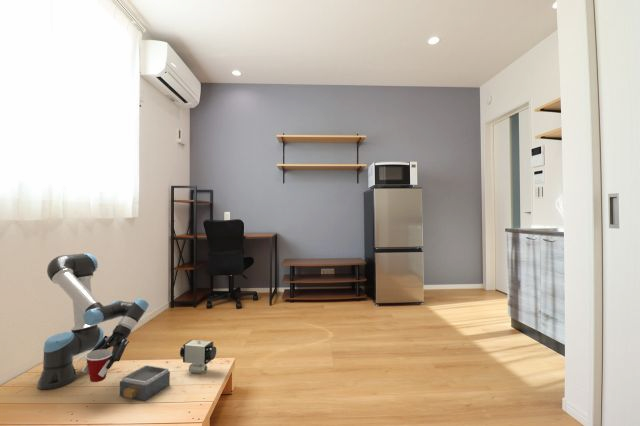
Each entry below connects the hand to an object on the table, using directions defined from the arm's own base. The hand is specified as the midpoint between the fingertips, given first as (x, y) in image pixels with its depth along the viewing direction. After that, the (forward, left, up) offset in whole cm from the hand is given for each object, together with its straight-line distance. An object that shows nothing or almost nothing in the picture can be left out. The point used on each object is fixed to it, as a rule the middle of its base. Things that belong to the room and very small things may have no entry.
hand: (92, 373), depth 141 cm
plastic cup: (0, +3, -4) cm, 5 cm away
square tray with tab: (+15, +14, -13) cm, 24 cm away
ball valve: (+27, +39, -13) cm, 49 cm away
